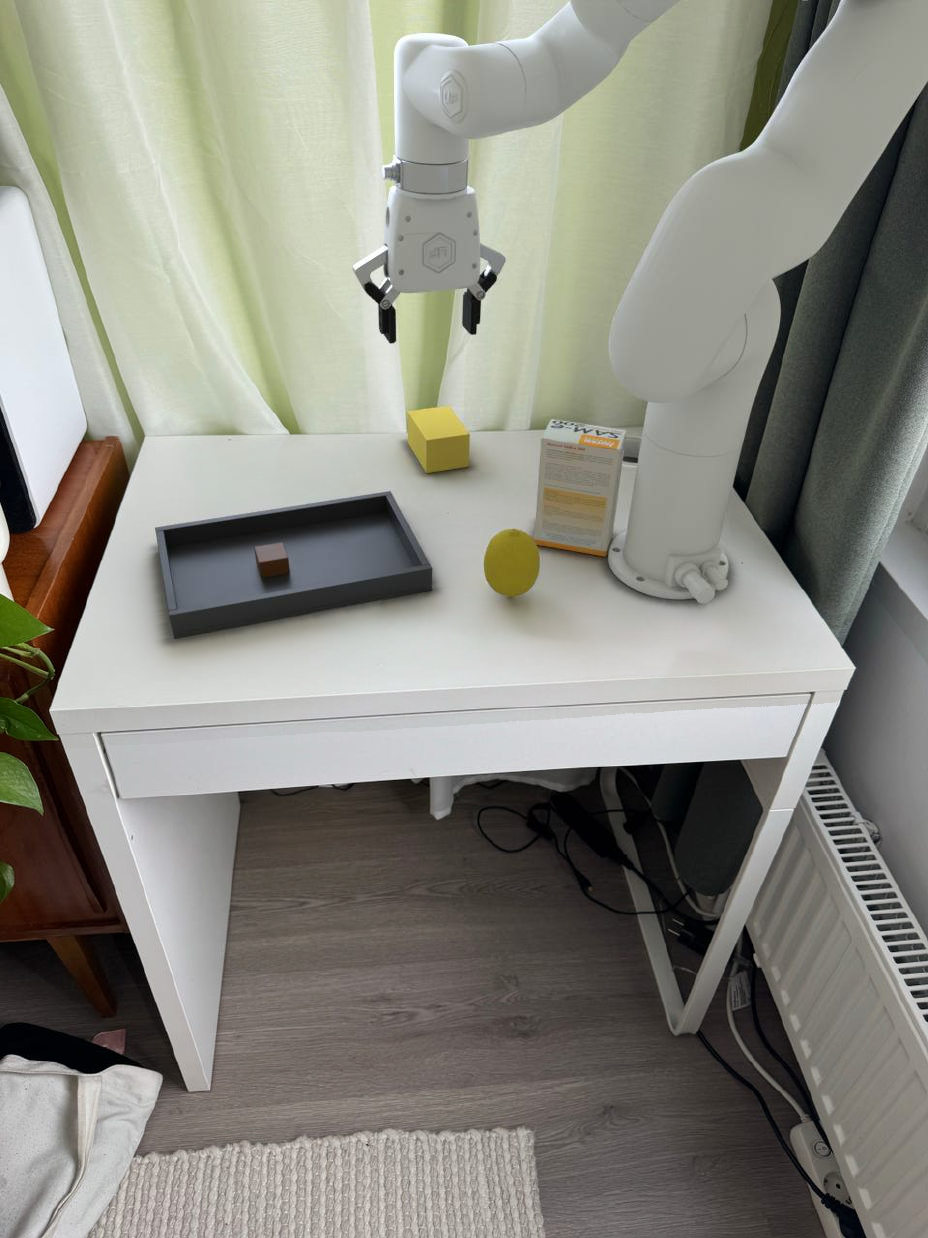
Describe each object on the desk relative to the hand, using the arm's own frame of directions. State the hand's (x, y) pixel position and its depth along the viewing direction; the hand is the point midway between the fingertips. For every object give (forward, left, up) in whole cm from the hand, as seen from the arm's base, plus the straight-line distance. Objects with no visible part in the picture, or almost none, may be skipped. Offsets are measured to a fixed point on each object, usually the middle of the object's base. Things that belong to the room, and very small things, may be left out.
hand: (429, 334), depth 107 cm
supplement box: (-23, -9, -16) cm, 29 cm away
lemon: (-31, +1, -16) cm, 34 cm away
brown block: (-20, +23, -15) cm, 34 cm away
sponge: (-1, -1, -16) cm, 16 cm away
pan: (-20, +21, -16) cm, 33 cm away
